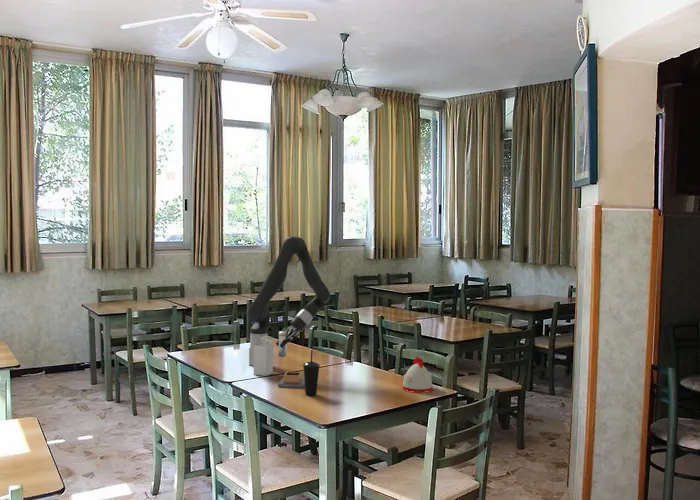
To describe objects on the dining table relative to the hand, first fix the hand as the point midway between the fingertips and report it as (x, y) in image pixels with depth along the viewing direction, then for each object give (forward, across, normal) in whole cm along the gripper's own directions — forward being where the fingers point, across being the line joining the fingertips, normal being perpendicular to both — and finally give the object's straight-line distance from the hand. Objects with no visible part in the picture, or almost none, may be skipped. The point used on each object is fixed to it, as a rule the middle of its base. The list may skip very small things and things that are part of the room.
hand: (279, 345), depth 308 cm
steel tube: (+2, 0, +5) cm, 6 cm away
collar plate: (+10, +13, +13) cm, 21 cm away
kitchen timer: (-25, +46, +47) cm, 71 cm away
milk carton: (+14, -12, +10) cm, 21 cm away
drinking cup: (+11, +34, +12) cm, 37 cm away
